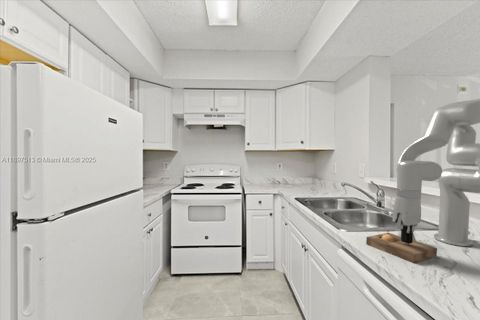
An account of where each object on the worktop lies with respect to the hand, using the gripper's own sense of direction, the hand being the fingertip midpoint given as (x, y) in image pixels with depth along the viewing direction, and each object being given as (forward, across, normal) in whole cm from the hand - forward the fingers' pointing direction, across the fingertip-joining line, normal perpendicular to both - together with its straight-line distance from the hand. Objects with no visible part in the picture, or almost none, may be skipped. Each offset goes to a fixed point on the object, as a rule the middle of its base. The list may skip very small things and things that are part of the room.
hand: (406, 242), depth 89 cm
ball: (+2, 0, -7) cm, 7 cm away
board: (+4, 0, -2) cm, 5 cm away
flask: (+4, -13, -8) cm, 16 cm away
